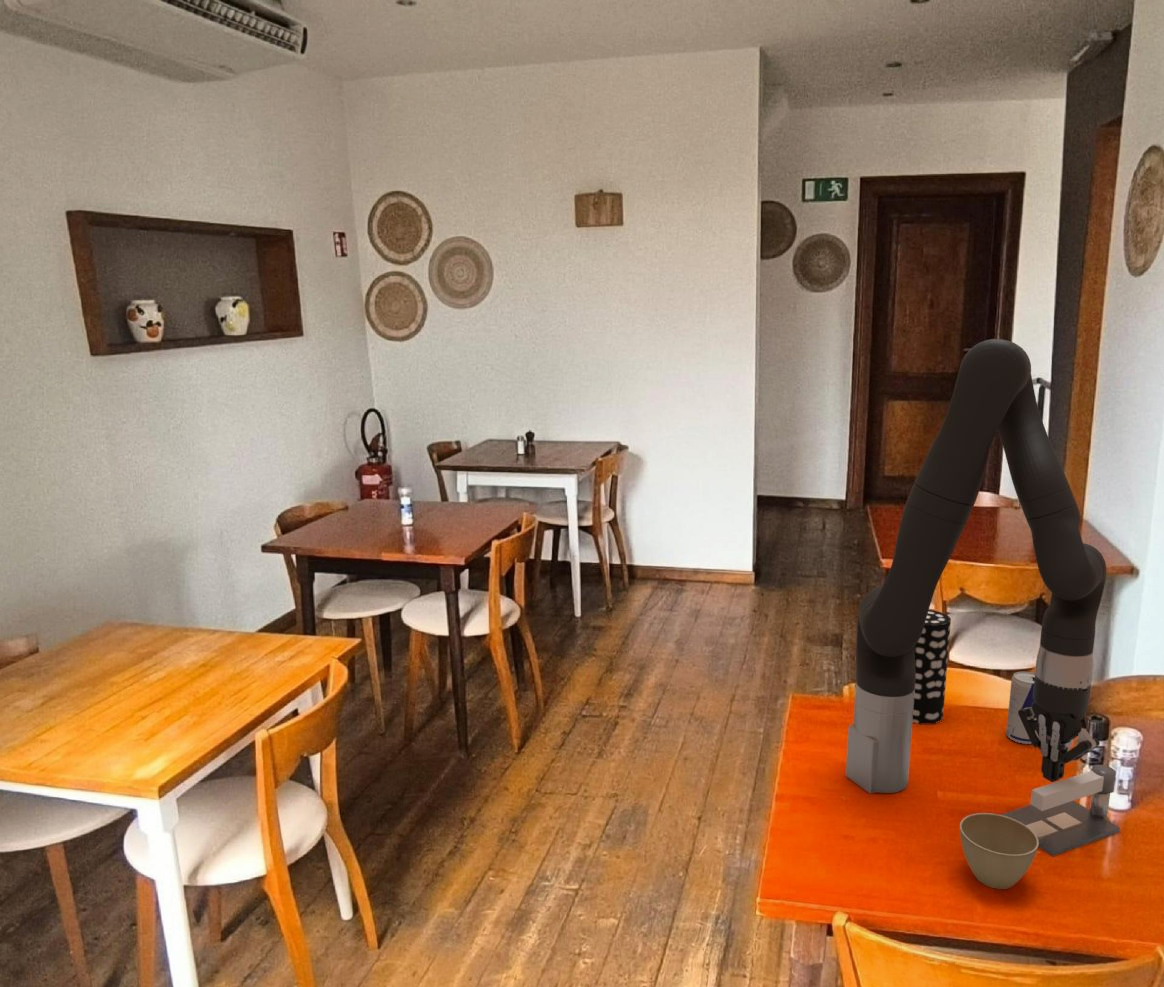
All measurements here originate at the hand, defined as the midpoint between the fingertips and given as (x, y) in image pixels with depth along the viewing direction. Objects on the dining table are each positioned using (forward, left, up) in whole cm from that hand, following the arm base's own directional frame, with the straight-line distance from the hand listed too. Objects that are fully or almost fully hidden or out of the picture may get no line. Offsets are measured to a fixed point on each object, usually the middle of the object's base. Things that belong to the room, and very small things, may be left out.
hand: (1051, 778), depth 139 cm
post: (+7, -3, -7) cm, 10 cm away
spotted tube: (+7, +35, -7) cm, 36 cm away
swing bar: (+1, -3, -1) cm, 4 cm away
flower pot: (-19, -7, -7) cm, 22 cm away
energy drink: (+17, +20, -7) cm, 27 cm away
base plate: (-1, -2, -7) cm, 7 cm away
